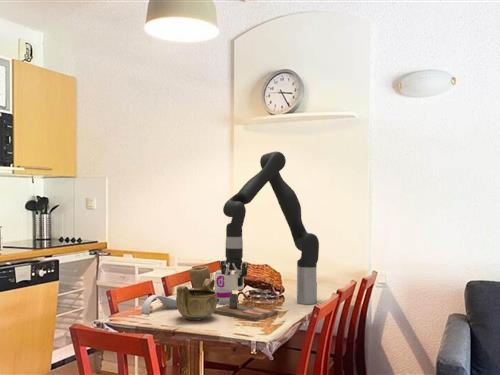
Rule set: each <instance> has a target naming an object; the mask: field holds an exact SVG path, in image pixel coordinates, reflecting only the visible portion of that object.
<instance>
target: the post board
mask: <svg viewBox="0 0 500 375" xmlns="http://www.w3.org/2000/svg"><path fill="white" fill-rule="evenodd" d="M212 314H214V315H215V314H216V315H220V316H224V317H231V318H236V319H241V320H247V321H251V322H257V321H261V320H265V319H267V318H268V319H269V318H270V317H271V318H272V317H275V316H277V315H279V311H278V310H274V309H267V308H262V307H256V306H249V305H244V304H238V294H237V293H232V294H230V304H226V305H223V306H219V307H216V309H215V311H214V312H213V313H212Z"/></svg>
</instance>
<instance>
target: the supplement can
mask: <svg viewBox="0 0 500 375" xmlns="http://www.w3.org/2000/svg"><path fill="white" fill-rule="evenodd" d="M231 274H233V272H231ZM214 281H215V284H214V290H215V291H216V292H217V305H229V304H230V294H233V290H225V289H224V275H222V273H221V269H218V270H216V271H215V273H214Z"/></svg>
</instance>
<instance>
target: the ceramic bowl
mask: <svg viewBox="0 0 500 375" xmlns="http://www.w3.org/2000/svg"><path fill="white" fill-rule="evenodd" d="M214 289H215V278H214V279H213V278H210V279H206V280H205V281H204V284H203V287H202V288H201V289H194V288H188V286H186V285H178V286H177V288H176V296H175V298H176V305H177V308H176V309H177V311H178V313H179V314H180V315H181V316H182V317H183V318H185V319H187V320H190V321H202V320H204V319H207V318H209V317H210V316H211V315H213V314H214V313H213V312H214V311H215V309H216V308H217V305H218V304H217V292H216V291H213V290H214Z"/></svg>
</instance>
